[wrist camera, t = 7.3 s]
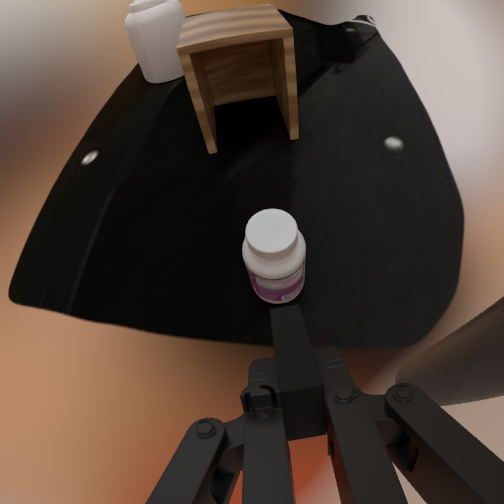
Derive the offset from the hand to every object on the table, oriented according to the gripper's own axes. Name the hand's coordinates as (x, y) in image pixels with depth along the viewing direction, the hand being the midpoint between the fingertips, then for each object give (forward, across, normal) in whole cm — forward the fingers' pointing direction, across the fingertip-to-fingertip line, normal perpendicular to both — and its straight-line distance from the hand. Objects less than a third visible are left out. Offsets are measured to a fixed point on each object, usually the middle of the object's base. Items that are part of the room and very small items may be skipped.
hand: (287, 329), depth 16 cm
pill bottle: (+16, 0, -3) cm, 16 cm away
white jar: (+54, -14, +35) cm, 66 cm away
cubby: (+35, 0, +17) cm, 39 cm away
